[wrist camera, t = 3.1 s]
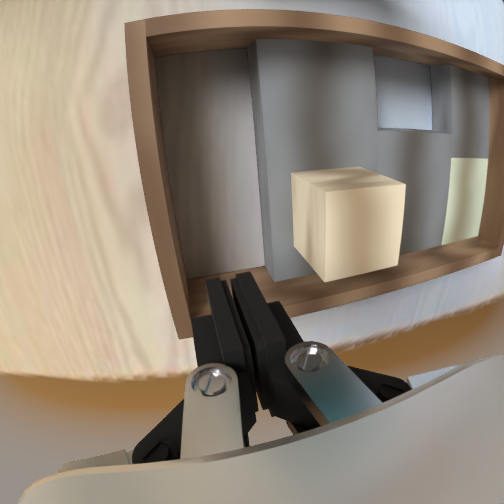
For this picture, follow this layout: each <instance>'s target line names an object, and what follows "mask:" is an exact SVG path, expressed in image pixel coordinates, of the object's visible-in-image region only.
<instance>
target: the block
mask: <svg viewBox="0 0 504 504" xmlns="http://www.w3.org/2000/svg"><path fill="white" fill-rule="evenodd" d="M291 186H292V209H293V237H294V247H295V248H296V249H297V250H298V252H299V253H300V254H301V255H302V256H303V257H304V259H305V260H306V261H307V262H308V263H309V265H310V266H311V267H312V268H313V269H314V271H315V272H316V273H317V274H318V275H319V277H320V278H321V279H322V280H323V281H324V282H329V281H333V280H338V279H342V278H347V277H351V276H355V275H359V274H364V273H368V272H372V271H376V270H380V269H385V268H389V267H393V266H397V265H398V259H399V251H400V244H401V235H402V226H403V215H404V204H405V189H406V184H404V183H402V182H399V181H397V180H394V179H391V178H389V177H386V176H384V175H381V174H378V173H376V172H373V171H370V170H367V169H365V168H362V167H350V168H336V169H324V170H313V171H302V172H293V173H291Z"/></svg>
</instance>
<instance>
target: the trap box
mask: <svg viewBox="0 0 504 504" xmlns="http://www.w3.org/2000/svg"><path fill="white" fill-rule="evenodd" d="M125 43H126V58H127V71H128V82H129V92H130V101H131V110H132V118H133V126H134V134H135V141H136V148H137V154H138V161H139V167H140V173H141V179H142V184H143V190H144V195H145V201H146V206H147V211H148V216H149V221H150V226H151V231H152V235H153V240H154V245H155V249H156V253H157V258H158V262H159V266H160V270H161V275H162V279H163V283H164V287H165V291H166V294H167V298H168V302H169V306H170V309H171V313H172V317H173V320H174V324H175V327H176V331H177V334H178V338H179V339H184V338H190V337H193V331H192V323H191V318H195V317H200V316H206V315H211V310H210V305H209V300H208V294H207V289H206V283H205V280H206V279H211V278H217V277H220V280H221V281H222V280H226V281H227V284H228V286H229V289H230V292H231V295H232V289H231V281H230V279H233V278H235V274H238V273H243V272H249V271H250V272H251V273H252V275H253V277H254V279H255V281H256V283H257V285H258V287H259V289H260V291H261V293H262V294H263V296H264V298H265V300H266V302H267V303H270V302H274V301H280V303H281V304H282V306H283V308H284V309H285V311H286V313H287V314H288V316H289V318H291V317H295V316H300V315H304V314H308V313H312V312H317V311H321V310H325V309H329V308H333V307H337V306H341V305H344V304H348V303H352V302H356V301H360V300H363V299H367V298H371V297H374V296H378V295H381V294H385V293H388V292H392V291H395V290H399V289H402V288H405V287H409V286H412V285H415V284H419V283H422V282H425V281H428V280H431V279H434V278H438V277H441V276H444V275H447V274H450V273H453V272H456V271H459V270H462V269H465V268H467V267H470V266H473V265H476V264H479V263H482V262H484V261H487V260H490V259H493V258H495V257H498V256H501V253H502V249H503V245H504V65H502V64H500V63H498V62H496V61H494V60H491V59H489V58H487V57H485V56H482V55H480V54H478V53H475V52H473V51H470V50H468V49H465V48H463V47H460V46H458V45H455V44H452V43H449V42H446V41H444V40H441V39H438V38H435V37H431V36H428V35H425V34H422V33H418V32H415V31H411V30H408V29H404V28H400V27H396V26H392V25H387V24H383V23H378V22H374V21H369V20H363V19H358V18H352V17H346V16H339V15H332V14H324V13H315V12H304V11H290V10H266V9H241V10H216V11H203V12H192V13H183V14H175V15H167V16H161V17H155V18H149V19H143V20H138V21H133V22H128V23H125ZM231 48H247V51H248V62H249V73H250V84H251V95H252V107H253V118H254V130H255V142H256V154H257V166H258V179H259V191H260V204H261V217H262V231H263V244H264V258H265V266H262V267H257V268H251V269H246V270H240V271H234V272H229V273H223V274H218V275H212V276H206V277H201V278H195V279H189V280H187V276H186V271H185V266H184V261H183V256H182V251H181V246H180V241H179V235H178V230H177V224H176V219H175V213H174V207H173V201H172V195H171V189H170V183H169V176H168V170H167V163H166V156H165V149H164V141H163V134H162V126H161V117H160V109H159V100H158V90H157V80H156V69H155V57H160V56H166V55H172V54H180V53H187V52H196V51H205V50H217V49H231ZM373 55H379V56H386V57H391V58H397V59H402V60H407V61H412V62H417V63H421V64H425V65H430V74H431V90H432V130H417V129H396V128H377V99H376V82H375V68H374V57H373ZM350 167H362V168H365V169H367V170H370V171H373V172H376V173H378V174H381V175H384V176H386V177H389V178H391V179H394V180H397V181H399V182H402V183H404V184H406V189H405V204H404V215H403V226H402V235H401V244H400V251H399V259H398V265H397V266H393V267H389V268H385V269H380V270H376V271H372V272H368V273H364V274H359V275H355V276H351V277H347V278H342V279H338V280H333V281H329V282H324V281H323V280H322V279H321V278H320V277H319V275H318V274H317V273H316V272H315V271H314V269H313V268H312V267H311V266H310V265H309V263H308V262H307V261H306V260H305V259H304V257H303V256H302V255H301V254H300V253H299V252H298V250H297V249H296V248H295V247H294V237H293V209H292V186H291V173H293V172H302V171H313V170H324V169H336V168H350ZM232 298H233V296H232Z"/></svg>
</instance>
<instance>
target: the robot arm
mask: <svg viewBox="0 0 504 504" xmlns="http://www.w3.org/2000/svg"><path fill="white" fill-rule="evenodd" d="M230 281H231V289H232V295H231V292H230V289H229V286H228V284H227V281H226V280H222V281H221V280H220V277H217V278H211V279H206V280H205V283H206V289H207V294H208V300H209V305H210V310H211V315H206V316H200V317H195V318H191V323H192V331H193V338H194V345H195V352H196V358H197V365H198V367H197V368H196V369H195V370H193V371H192V372H191V373H190V374H189V376H188V377H187V380H186V386H185V397H184V399H183V400H182V401H181V402H180V403H179V404H178V405H177V406H176V407H175V408H174V409H173V410H172V411H171V412H170V413H169V414H168V415H167V416H166V417H165V418H164V419H163V420H162V421H161V422H160V423H159V424H158V425H157V426H156V427H155V428H154V429H153V430H152V431H151V432H150V433H148V434H147V435H146V436H145V438H143V439H142V440H141V441H140V442H139V443H138V444H137V446H136V447H135V448H134V450H132V451H129V452H126V451H125V450H124V449H123V450H119V451H116V452H112V453H108V454H104V455H100V456H96V457H91V458H87V459H82V460H77V461H73V462H69V463H67V464H65V465H64V466H62V467H61V468H60V470H59V472H58V473H56V474H53V475H50V476H47V477H45V478H42V479H40V480H38V481H36V482H34V483H33V484H31V485H30V486H29V487H28V488H27V489H26V490H25V491H24V492H23V494H22V496H21V498H20V500H19V503H18V504H504V355H495V356H489V357H484V358H481V359H477V360H474V361H471V362H469V363H466V364H464V365H461V366H459V365H456V366H450V367H446V368H443V369H439V370H435V371H431V372H427V373H423V374H419V375H415V376H410V377H407V380H406V381H403V380H402V379H399V378H396V377H391V376H388V375H383V374H379V373H375V372H371V371H367V370H362V369H359V368H354V367H351V366H347V365H346V364H344V362H343V361H342V360H341V359H340V358H339V357H338V356H337V355H336V354H335V353H334V352H333V351H332V350H331V349H330V348H329V347H328V346H326V345H324V344H322V343H319V342H313V341H310V342H304V341H303V340H302V338H301V336H300V335H299V333H298V331H297V330H296V328H295V326H294V325H293V323H292V321H291V319H290V318H289V316H288V314H287V313H286V311H285V309H284V308H283V306H282V304H281V303H280V301H274V302H270V303H267V302H266V300H265V298H264V296H263V294H262V293H261V291H260V289H259V287H258V285H257V283H256V281H255V279H254V277H253V275H252V273H251V272H250V271H249V272H243V273H238V274H235V278H233V279H230ZM232 296H233V298H232ZM256 392H257V395H258V398H259V400H260V403H261V406H262V408H263V410H265V409H269V411H270V414H271V416H272V417H274V416H276V417H279V418H281V419H284V420H286V423H287V426H288V428H289V429H290V431H291V432H292V434H293V435H292V436H289V437H285V438H281V439H278V440H274V441H270V442H267V443H262V444H258V445H254V446H250V445H249V436H248V432H249V431H250V429H251V428H252V426H253V425H254V424H255V422H256V415H255V412H257V411H258V403H257V396H256Z"/></svg>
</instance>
